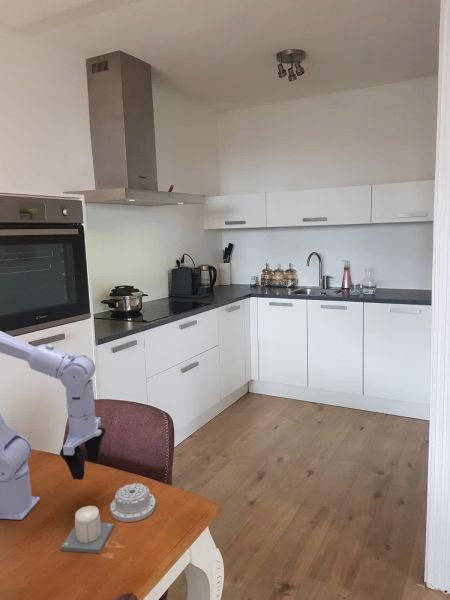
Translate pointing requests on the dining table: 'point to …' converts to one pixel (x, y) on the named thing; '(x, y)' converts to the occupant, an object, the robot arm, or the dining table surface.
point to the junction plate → (90, 547)
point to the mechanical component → (132, 503)
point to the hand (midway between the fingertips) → (85, 469)
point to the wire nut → (87, 524)
